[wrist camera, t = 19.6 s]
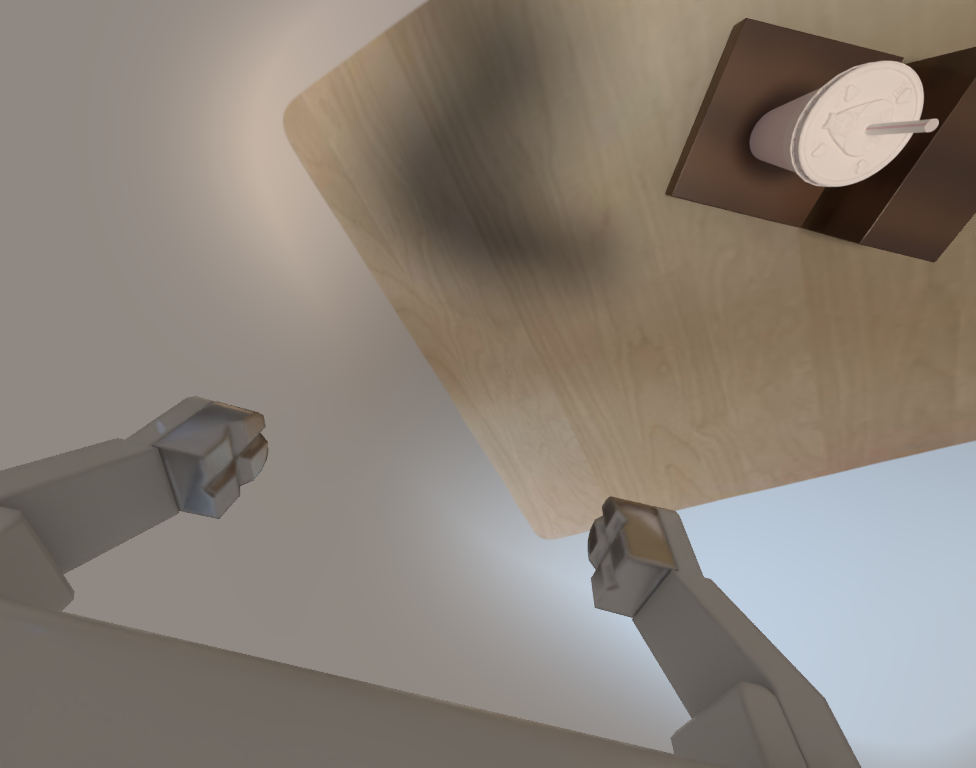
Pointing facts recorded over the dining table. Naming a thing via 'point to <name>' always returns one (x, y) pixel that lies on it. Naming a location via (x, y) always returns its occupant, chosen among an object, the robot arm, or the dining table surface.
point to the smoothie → (845, 125)
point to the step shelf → (845, 209)
